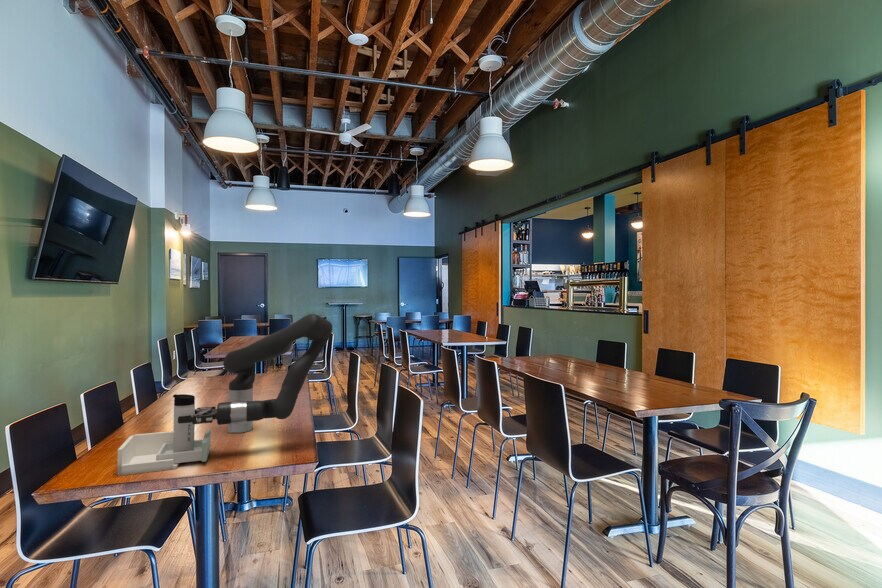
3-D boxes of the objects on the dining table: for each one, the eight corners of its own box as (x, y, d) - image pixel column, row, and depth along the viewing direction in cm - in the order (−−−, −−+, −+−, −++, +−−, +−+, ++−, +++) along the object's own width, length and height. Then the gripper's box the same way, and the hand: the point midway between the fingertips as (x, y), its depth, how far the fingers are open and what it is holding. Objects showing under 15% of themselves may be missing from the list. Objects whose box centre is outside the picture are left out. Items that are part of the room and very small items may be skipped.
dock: (183, 452, 166) (184, 430, 166) (176, 468, 150) (176, 443, 150) (130, 458, 160) (131, 435, 160) (117, 475, 144) (117, 449, 144)
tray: (210, 446, 169) (210, 428, 169) (206, 461, 153) (206, 442, 153) (164, 451, 163) (164, 433, 163) (154, 467, 147) (155, 447, 148)
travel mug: (173, 452, 160) (174, 393, 160) (195, 449, 162) (196, 392, 162) (170, 457, 154) (171, 396, 154) (192, 455, 156) (193, 395, 157)
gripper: (233, 397, 170) (182, 401, 164) (231, 406, 157) (176, 410, 151) (233, 418, 170) (182, 423, 164) (231, 428, 157) (176, 433, 151)
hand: (180, 417), depth 158 cm, fingers open, 8 cm apart
